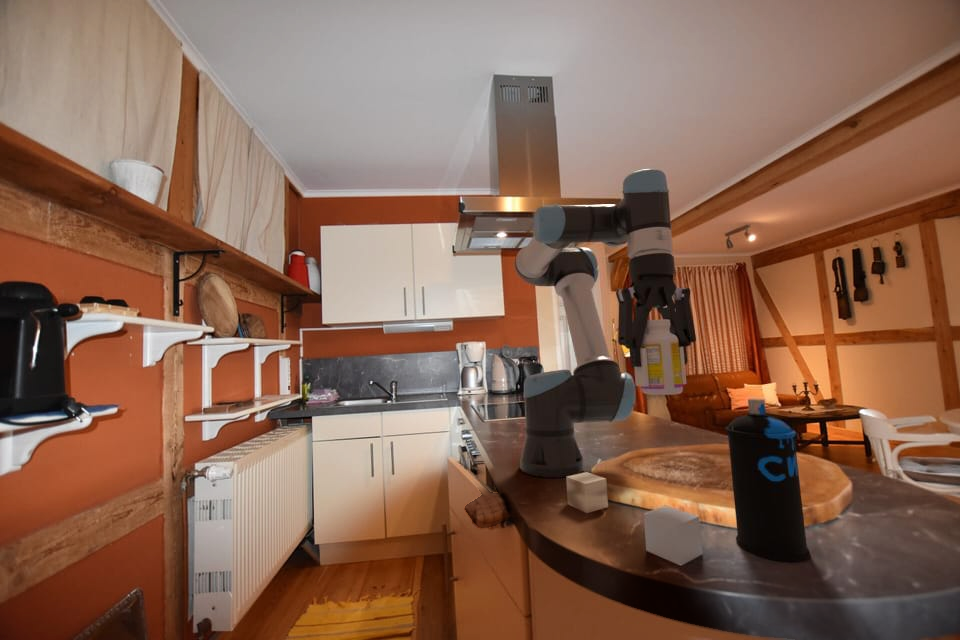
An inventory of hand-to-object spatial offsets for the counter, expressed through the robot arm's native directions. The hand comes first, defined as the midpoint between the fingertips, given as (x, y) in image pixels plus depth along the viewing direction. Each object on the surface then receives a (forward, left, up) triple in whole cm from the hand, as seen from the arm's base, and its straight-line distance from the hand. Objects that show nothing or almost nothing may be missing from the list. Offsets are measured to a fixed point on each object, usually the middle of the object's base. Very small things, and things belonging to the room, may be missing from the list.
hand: (660, 384), depth 70 cm
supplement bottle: (0, 0, -2) cm, 2 cm away
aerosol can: (+15, +4, -22) cm, 27 cm away
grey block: (+12, -9, -22) cm, 26 cm away
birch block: (-7, -12, -22) cm, 26 cm away
